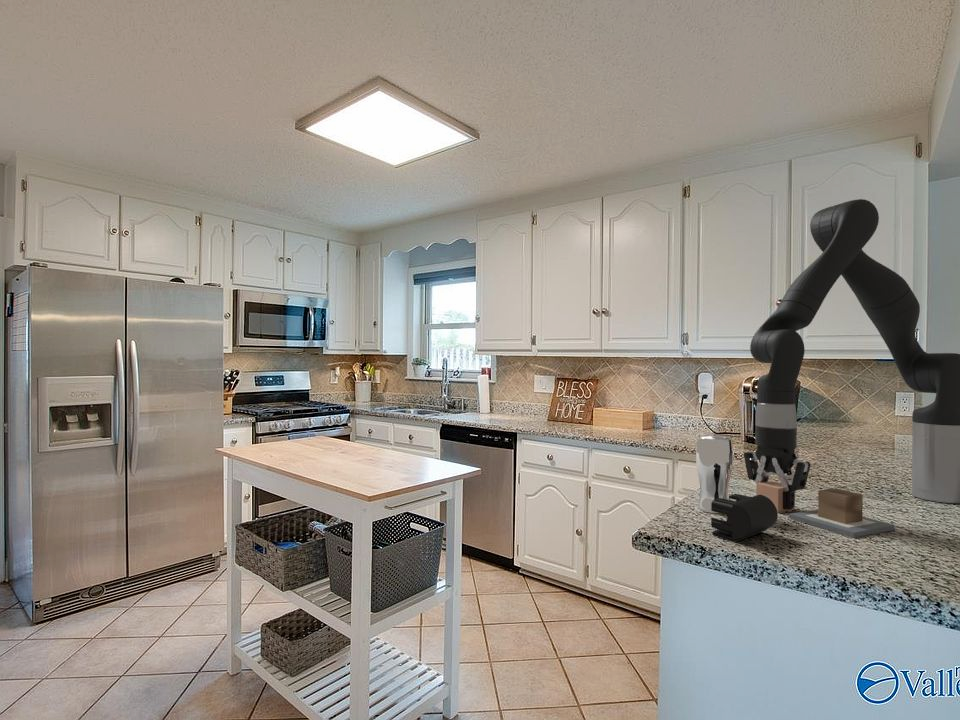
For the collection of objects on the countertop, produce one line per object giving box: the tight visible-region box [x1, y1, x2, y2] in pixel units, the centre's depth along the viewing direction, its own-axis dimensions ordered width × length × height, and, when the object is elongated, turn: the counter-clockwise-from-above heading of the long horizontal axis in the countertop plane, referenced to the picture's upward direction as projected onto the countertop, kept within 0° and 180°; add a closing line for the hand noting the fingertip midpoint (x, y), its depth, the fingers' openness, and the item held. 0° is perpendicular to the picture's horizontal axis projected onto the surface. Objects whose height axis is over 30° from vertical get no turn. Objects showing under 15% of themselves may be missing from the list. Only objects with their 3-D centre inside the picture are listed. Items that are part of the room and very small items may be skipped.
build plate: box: [788, 509, 896, 539], centre depth 98 cm, size 12×12×1 cm
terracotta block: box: [755, 480, 796, 513], centre depth 109 cm, size 5×5×5 cm
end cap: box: [710, 493, 779, 543], centre depth 91 cm, size 10×7×7 cm
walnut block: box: [817, 488, 864, 524], centre depth 98 cm, size 5×5×5 cm
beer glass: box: [695, 434, 734, 515], centre depth 107 cm, size 7×7×15 cm
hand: (775, 505), depth 109 cm, fingers closed on terracotta block, 5 cm apart
